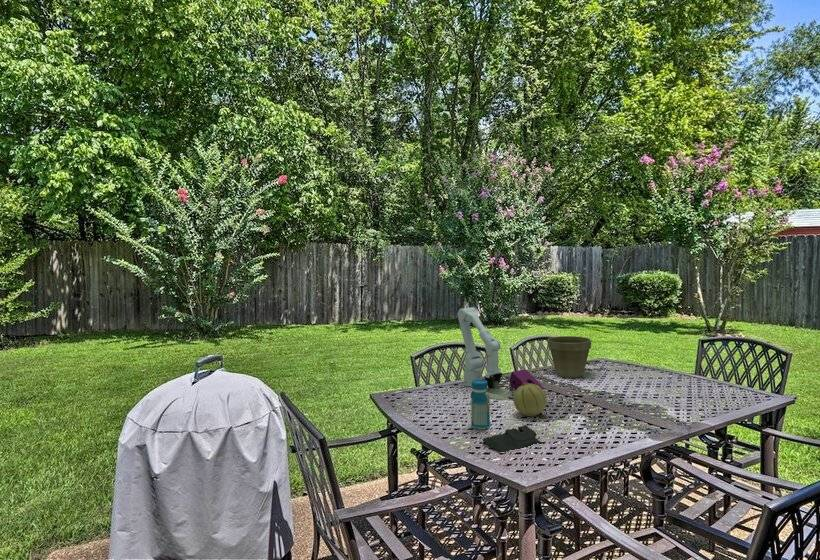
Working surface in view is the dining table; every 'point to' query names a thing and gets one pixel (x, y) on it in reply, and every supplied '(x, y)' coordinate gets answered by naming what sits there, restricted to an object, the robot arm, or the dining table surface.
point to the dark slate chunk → (512, 439)
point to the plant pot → (569, 355)
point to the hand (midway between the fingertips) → (493, 387)
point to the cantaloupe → (530, 399)
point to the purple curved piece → (522, 379)
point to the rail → (497, 393)
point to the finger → (496, 385)
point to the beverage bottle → (480, 405)
